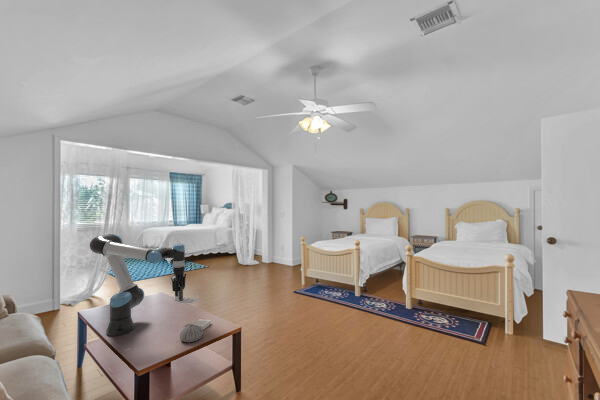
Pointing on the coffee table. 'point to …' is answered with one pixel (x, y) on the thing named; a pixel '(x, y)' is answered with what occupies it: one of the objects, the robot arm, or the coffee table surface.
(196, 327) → the sea urchin shell
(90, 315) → the coffee table surface
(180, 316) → the coffee table surface
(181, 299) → the grey l-shaped block
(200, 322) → the tile
